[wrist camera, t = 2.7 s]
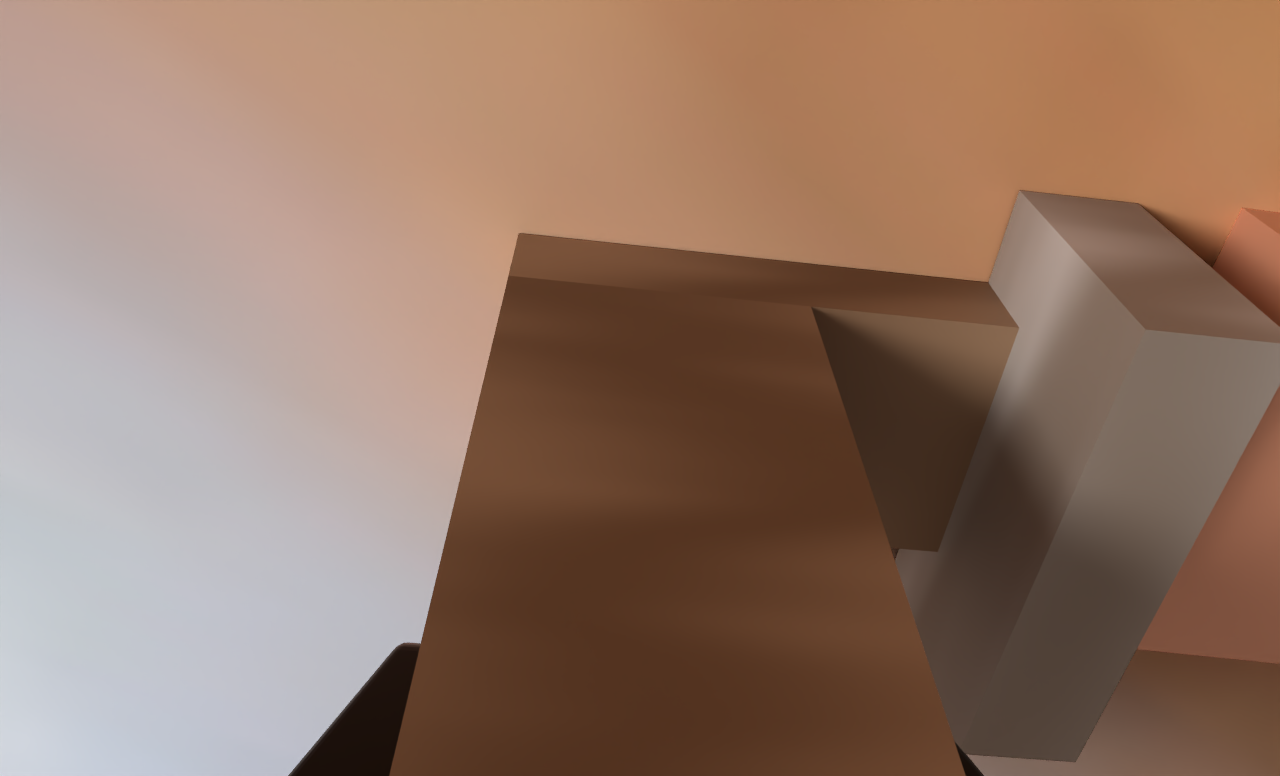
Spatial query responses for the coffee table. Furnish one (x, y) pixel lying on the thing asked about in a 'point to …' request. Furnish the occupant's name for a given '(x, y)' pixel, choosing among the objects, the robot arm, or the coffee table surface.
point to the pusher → (827, 503)
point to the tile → (1236, 503)
